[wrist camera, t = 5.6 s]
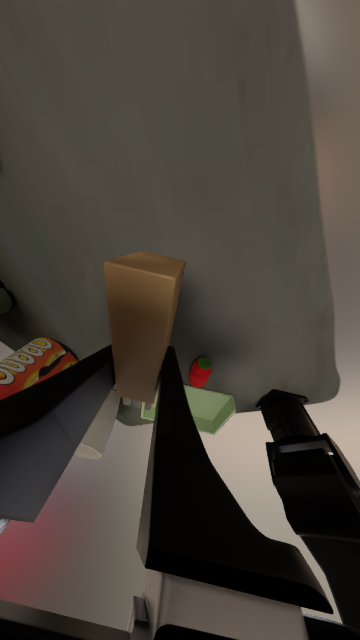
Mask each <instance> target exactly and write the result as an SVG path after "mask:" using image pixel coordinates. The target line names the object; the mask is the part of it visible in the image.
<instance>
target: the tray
mask: <svg viewBox="0 0 360 640" xmlns="http://www.w3.org/2000/svg"><path fill="white" fill-rule="evenodd" d="M184 388H185V393H186V396H187V400H188V403H189V407H190V410H191V413H192V416H194V417H193V419H194V421H195V424H196V427H197V429H198V431H200V432H205V433H209V434H213V435H215V434H216V433H217V432H218V431H219V430H220V428H221V427H222V426H223V425H224V424H225V423H226V422H227V420H229V418H230V417H231V416H232V415H233V414H234V413H235V412H236V407H235V403H234V398H233V396H232V395H228V394H223V393H219V392H215V391H211V390H206V389H202V388H195V387H193V386H189V385H185V384H184ZM157 396H158V392H157V395H156V399H155V403H154V404H152V407H151V410H150V411H149V410H145V409H144V407H145V402H142V410H141V418H144V419H149V420H153V421H154V418H155V407H156V403H157ZM198 417H199V418H198ZM202 418H203V419H202ZM206 419H207V420H206Z"/></svg>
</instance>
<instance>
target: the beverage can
mask: <svg viewBox="0 0 360 640" xmlns="http://www.w3.org/2000/svg"><path fill="white" fill-rule="evenodd" d="M77 362H79V361H78V358H77V357H76V355H75V354H74V353H73V352H72V351H71V350H70V349H69V348H68V347H66V346H65V345H63V344H61V343H60V342H58V341H55V340H53V339H49V338H37V339H35V340H33V341H32V342H30V343H28V344H27V345H25V346H24V347H22V348H21V349H19V350H18V351H16V352H15V353H13V354H11V355H10V356H8V357H7V358H5V359H4V360H2V361H1V362H0V400H1V399H4V398H6V397H8V396H10V395H12V394H14V393H17V392H19V391H21V390H23V389H25V388H27V387H30V386H32V385H34V384H36V383H38V382H40V381H42V380H45V379H47V378H49V377H51V376H53V375H55V374H57V373H59V372H61V371H62V370H64V369H66V368H68V367H70V366H73V365H74V364H76V363H77Z"/></svg>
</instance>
